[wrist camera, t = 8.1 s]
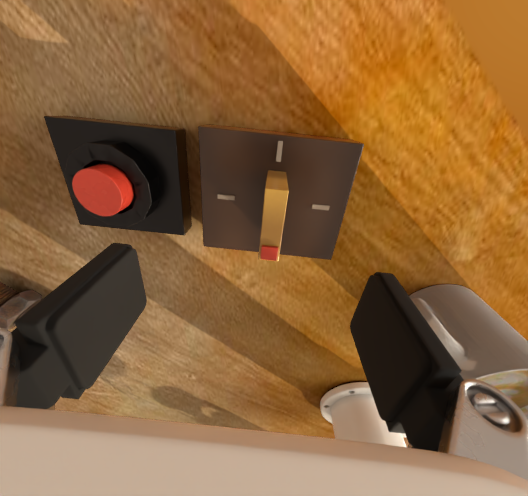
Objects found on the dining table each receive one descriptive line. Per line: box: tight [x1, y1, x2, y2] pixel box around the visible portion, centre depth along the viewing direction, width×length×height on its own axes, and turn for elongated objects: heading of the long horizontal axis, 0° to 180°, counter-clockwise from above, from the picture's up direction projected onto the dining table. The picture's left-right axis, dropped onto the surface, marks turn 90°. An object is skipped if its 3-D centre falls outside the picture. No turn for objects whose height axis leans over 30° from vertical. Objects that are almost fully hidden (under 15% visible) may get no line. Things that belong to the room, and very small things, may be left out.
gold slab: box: [258, 170, 289, 261], centre depth 17 cm, size 5×1×5 cm, turn 175°
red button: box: [72, 164, 134, 216], centre depth 18 cm, size 4×4×2 cm
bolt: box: [0, 282, 42, 330], centre depth 29 cm, size 6×5×15 cm
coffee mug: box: [409, 284, 528, 419], centre depth 24 cm, size 13×10×10 cm
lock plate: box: [198, 124, 364, 260], centre depth 20 cm, size 12×10×3 cm
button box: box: [44, 116, 192, 235], centre depth 20 cm, size 10×9×4 cm
